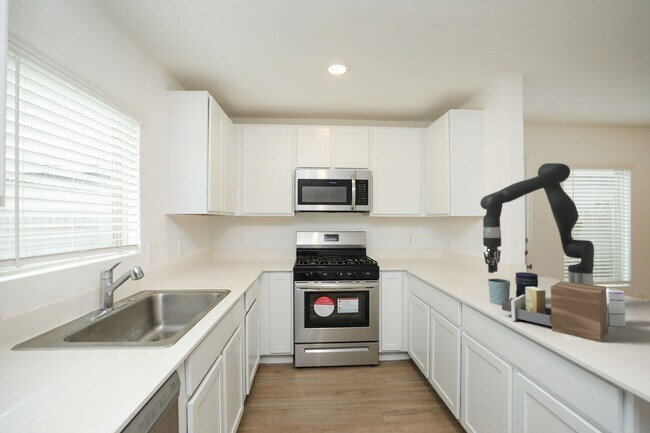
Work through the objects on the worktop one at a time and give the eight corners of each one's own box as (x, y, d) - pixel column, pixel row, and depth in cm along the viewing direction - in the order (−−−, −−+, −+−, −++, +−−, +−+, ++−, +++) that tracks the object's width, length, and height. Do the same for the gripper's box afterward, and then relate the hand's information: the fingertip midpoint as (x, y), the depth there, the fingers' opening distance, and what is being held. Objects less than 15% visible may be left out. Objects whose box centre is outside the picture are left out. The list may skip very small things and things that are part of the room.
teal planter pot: (510, 301, 151) (510, 279, 152) (511, 307, 143) (510, 283, 143) (488, 299, 157) (488, 277, 157) (488, 304, 148) (487, 281, 148)
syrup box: (626, 326, 115) (625, 291, 115) (609, 326, 116) (608, 290, 116) (615, 321, 120) (614, 287, 121) (598, 321, 122) (597, 287, 122)
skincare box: (525, 314, 126) (524, 286, 126) (534, 313, 126) (533, 286, 126) (537, 319, 119) (536, 290, 120) (546, 318, 120) (545, 289, 120)
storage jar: (514, 302, 150) (513, 274, 150) (517, 298, 157) (516, 271, 157) (537, 306, 143) (536, 276, 143) (540, 301, 150) (539, 273, 151)
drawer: (511, 310, 137) (511, 292, 137) (561, 320, 122) (561, 300, 122) (499, 317, 127) (498, 298, 128) (551, 329, 113) (551, 308, 113)
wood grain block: (561, 321, 122) (560, 281, 122) (607, 331, 111) (606, 286, 111) (552, 330, 112) (550, 286, 113) (600, 342, 101) (599, 293, 102)
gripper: (494, 237, 129) (495, 275, 129) (506, 236, 138) (507, 271, 138) (477, 237, 135) (478, 273, 135) (489, 235, 144) (490, 269, 143)
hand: (492, 272), depth 136 cm, fingers open, 3 cm apart
